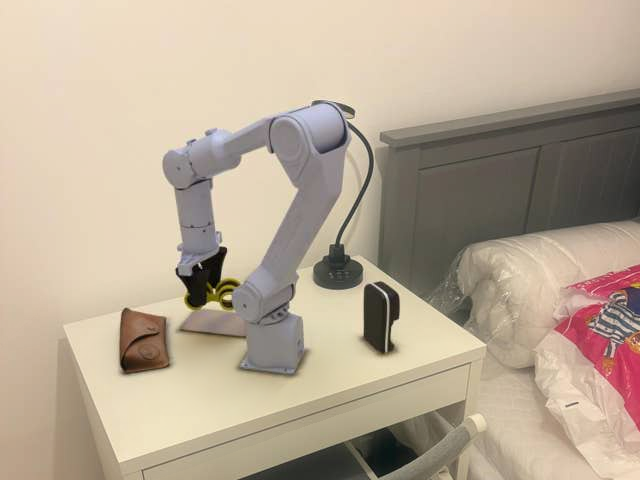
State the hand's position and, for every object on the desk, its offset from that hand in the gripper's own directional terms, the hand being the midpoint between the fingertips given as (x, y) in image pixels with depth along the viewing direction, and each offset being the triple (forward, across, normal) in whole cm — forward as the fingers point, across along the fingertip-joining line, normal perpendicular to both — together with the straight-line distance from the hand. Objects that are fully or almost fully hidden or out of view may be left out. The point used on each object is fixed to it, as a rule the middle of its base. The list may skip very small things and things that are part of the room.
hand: (207, 295), depth 115 cm
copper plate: (+8, -5, 0) cm, 10 cm away
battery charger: (+9, -4, +31) cm, 32 cm away
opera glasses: (+2, 0, +1) cm, 2 cm away
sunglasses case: (+9, +5, -11) cm, 15 cm away
